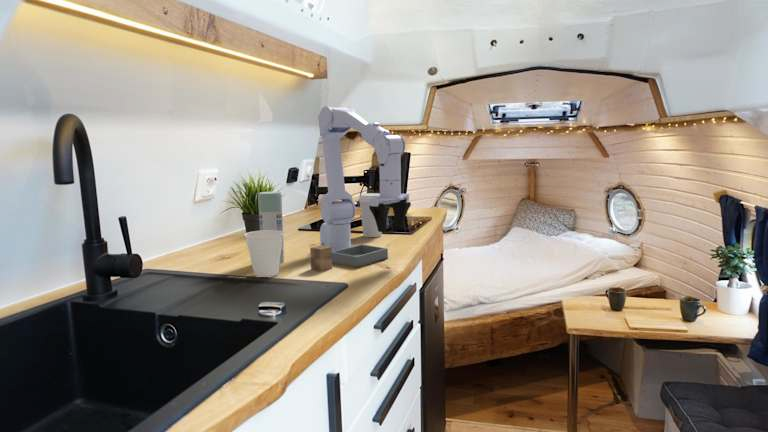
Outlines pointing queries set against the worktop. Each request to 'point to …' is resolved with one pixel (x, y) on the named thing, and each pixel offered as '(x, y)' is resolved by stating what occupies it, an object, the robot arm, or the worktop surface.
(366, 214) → the coffee cup
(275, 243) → the cup
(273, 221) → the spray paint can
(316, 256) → the walnut block
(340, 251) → the bin
